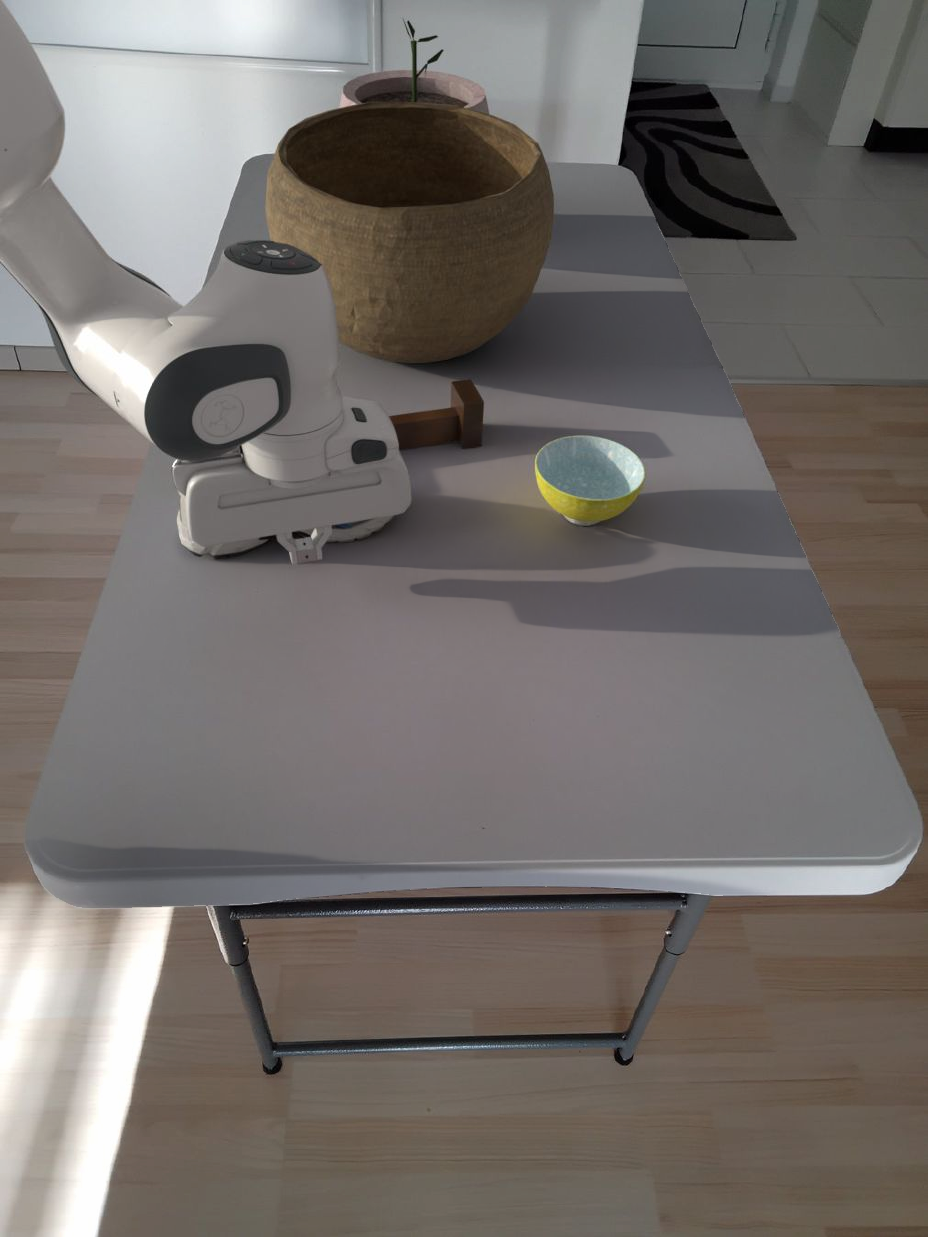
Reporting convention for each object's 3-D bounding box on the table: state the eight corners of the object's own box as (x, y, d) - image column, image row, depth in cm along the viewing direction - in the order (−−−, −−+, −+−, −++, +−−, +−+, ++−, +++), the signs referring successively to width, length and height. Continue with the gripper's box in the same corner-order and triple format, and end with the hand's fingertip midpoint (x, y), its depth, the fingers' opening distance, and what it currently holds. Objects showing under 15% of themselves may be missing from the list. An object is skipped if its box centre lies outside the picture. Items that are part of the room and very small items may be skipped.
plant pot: (484, 270, 140) (495, 44, 119) (328, 260, 141) (311, 34, 119) (492, 208, 157) (504, 1, 136) (353, 199, 158) (342, -8, 136)
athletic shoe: (417, 527, 96) (403, 418, 89) (198, 589, 89) (166, 475, 82) (384, 493, 104) (369, 390, 97) (180, 547, 97) (149, 440, 90)
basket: (530, 280, 139) (557, 102, 120) (534, 423, 116) (569, 231, 97) (295, 256, 137) (286, 72, 119) (252, 396, 114) (232, 196, 95)
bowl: (609, 473, 104) (617, 427, 100) (653, 537, 97) (664, 489, 92) (515, 489, 102) (519, 442, 97) (553, 555, 94) (559, 508, 90)
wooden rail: (216, 485, 100) (207, 439, 96) (211, 459, 104) (202, 413, 99) (481, 446, 107) (484, 401, 103) (468, 423, 111) (470, 378, 106)
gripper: (170, 475, 74) (198, 599, 84) (416, 439, 79) (416, 560, 88) (163, 432, 78) (191, 555, 88) (397, 400, 83) (399, 520, 93)
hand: (305, 558), depth 88 cm, fingers closed
